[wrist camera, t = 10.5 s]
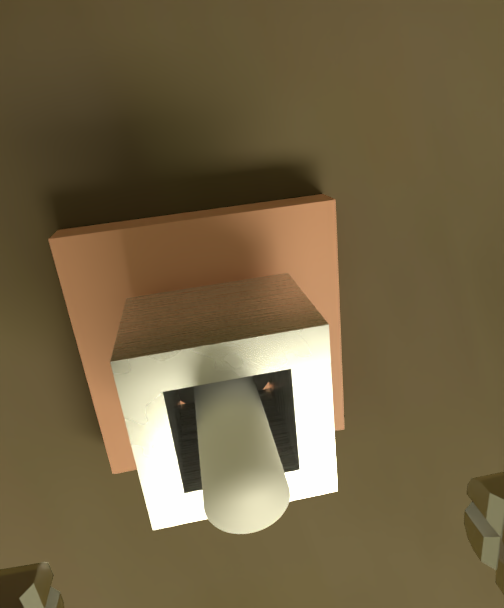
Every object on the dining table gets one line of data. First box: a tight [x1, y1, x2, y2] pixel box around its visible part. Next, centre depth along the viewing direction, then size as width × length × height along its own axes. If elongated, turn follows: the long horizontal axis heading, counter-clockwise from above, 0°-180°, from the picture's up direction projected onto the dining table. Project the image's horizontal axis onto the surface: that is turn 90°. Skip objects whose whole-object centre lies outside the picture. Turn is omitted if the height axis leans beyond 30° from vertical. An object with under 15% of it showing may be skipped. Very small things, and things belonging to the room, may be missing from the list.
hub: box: [110, 273, 338, 530], centre depth 15 cm, size 6×6×5 cm
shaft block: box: [48, 194, 344, 534], centre depth 15 cm, size 10×10×10 cm
